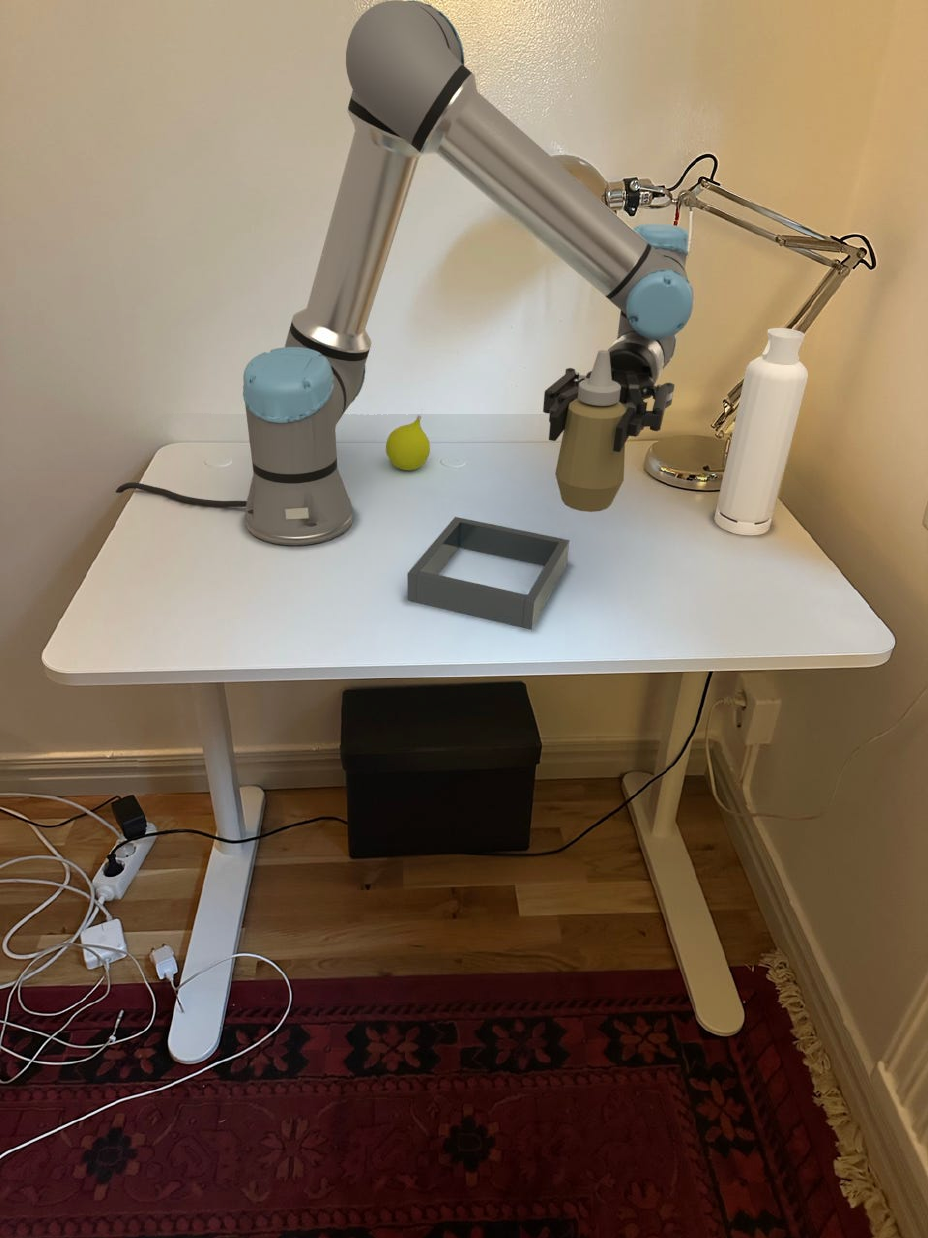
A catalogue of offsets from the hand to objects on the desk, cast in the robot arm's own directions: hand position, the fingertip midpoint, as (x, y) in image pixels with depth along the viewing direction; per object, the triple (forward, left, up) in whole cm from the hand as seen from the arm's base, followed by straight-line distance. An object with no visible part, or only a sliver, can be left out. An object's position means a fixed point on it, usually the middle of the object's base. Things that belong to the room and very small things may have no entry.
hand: (585, 434), depth 95 cm
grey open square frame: (-11, +4, -24) cm, 27 cm away
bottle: (+18, +35, -24) cm, 46 cm away
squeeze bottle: (0, +5, -11) cm, 12 cm away
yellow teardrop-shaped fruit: (-35, +32, -24) cm, 54 cm away
